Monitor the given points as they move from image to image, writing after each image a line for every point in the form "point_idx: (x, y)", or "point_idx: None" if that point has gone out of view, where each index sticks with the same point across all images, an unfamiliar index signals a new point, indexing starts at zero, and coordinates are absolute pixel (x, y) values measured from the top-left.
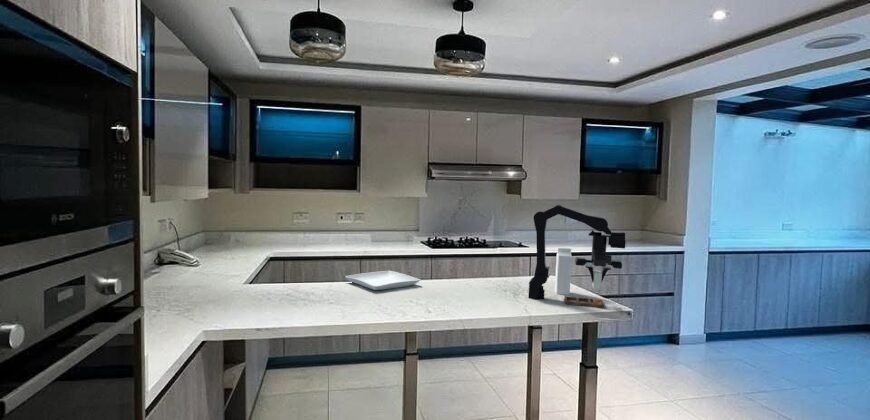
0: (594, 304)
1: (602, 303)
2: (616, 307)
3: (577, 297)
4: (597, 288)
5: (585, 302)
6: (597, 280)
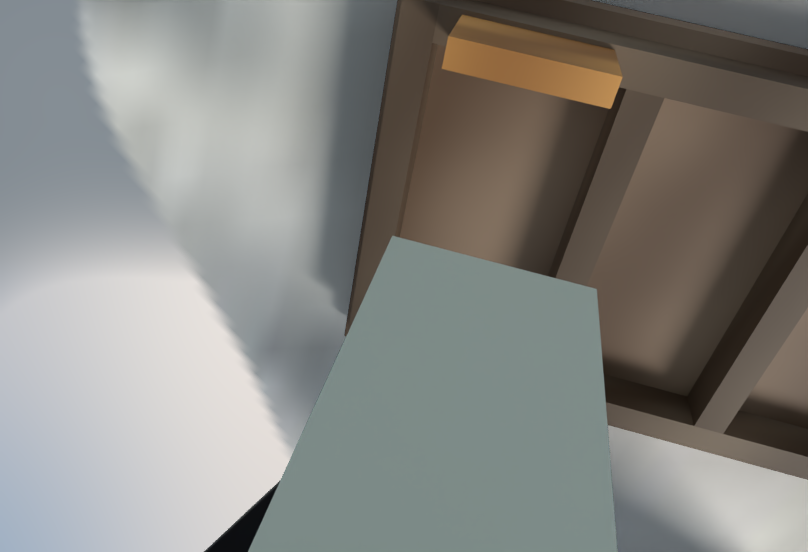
0: (591, 35)
1: (401, 122)
2: (189, 163)
3: (693, 441)
4: (487, 269)
5: (615, 303)
6: (475, 460)
